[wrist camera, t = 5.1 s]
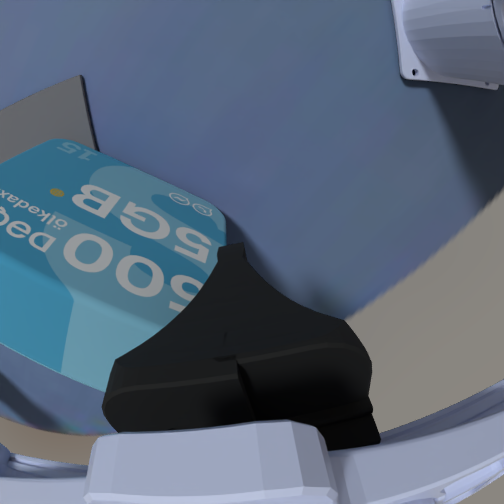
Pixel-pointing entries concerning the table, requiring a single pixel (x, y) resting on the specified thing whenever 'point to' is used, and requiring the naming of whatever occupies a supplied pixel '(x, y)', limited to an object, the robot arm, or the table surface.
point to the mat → (46, 119)
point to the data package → (95, 257)
